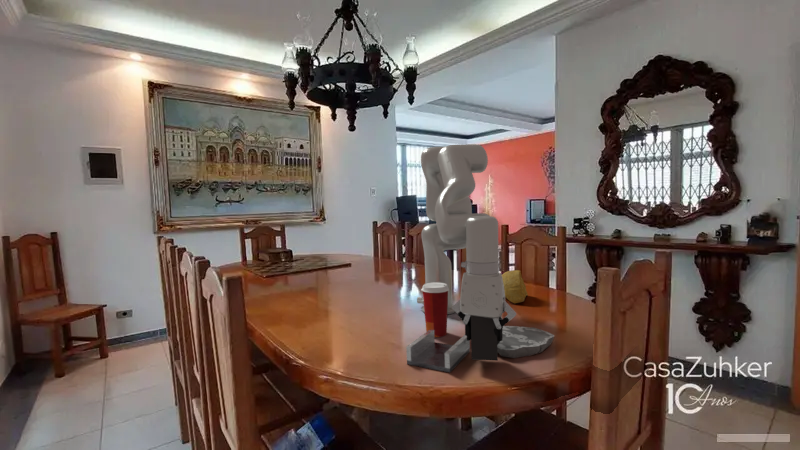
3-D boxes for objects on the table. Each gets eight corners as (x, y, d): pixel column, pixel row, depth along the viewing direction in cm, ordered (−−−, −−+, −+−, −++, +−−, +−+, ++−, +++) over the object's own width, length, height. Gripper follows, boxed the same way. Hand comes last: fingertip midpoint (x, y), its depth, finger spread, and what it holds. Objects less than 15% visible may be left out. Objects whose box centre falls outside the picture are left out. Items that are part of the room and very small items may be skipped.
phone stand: (497, 361, 91) (497, 310, 90) (471, 360, 92) (470, 309, 91) (495, 345, 100) (494, 299, 99) (471, 344, 101) (470, 299, 100)
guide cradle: (407, 364, 98) (406, 346, 98) (430, 345, 110) (430, 329, 110) (449, 372, 92) (449, 354, 92) (469, 351, 105) (469, 334, 104)
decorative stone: (481, 294, 156) (503, 269, 148) (496, 282, 167) (517, 258, 159) (506, 318, 151) (530, 294, 143) (520, 304, 163) (543, 280, 155)
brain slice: (513, 330, 120) (513, 321, 120) (564, 347, 106) (564, 336, 106) (466, 346, 109) (466, 335, 109) (515, 366, 95) (515, 354, 95)
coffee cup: (452, 330, 122) (451, 282, 121) (447, 339, 114) (445, 288, 113) (426, 328, 124) (424, 281, 123) (419, 337, 117) (417, 287, 116)
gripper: (442, 268, 95) (444, 340, 97) (515, 273, 87) (516, 353, 88) (454, 262, 101) (455, 330, 103) (523, 267, 93) (523, 341, 95)
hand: (483, 340), depth 96 cm, fingers closed on phone stand, 6 cm apart
